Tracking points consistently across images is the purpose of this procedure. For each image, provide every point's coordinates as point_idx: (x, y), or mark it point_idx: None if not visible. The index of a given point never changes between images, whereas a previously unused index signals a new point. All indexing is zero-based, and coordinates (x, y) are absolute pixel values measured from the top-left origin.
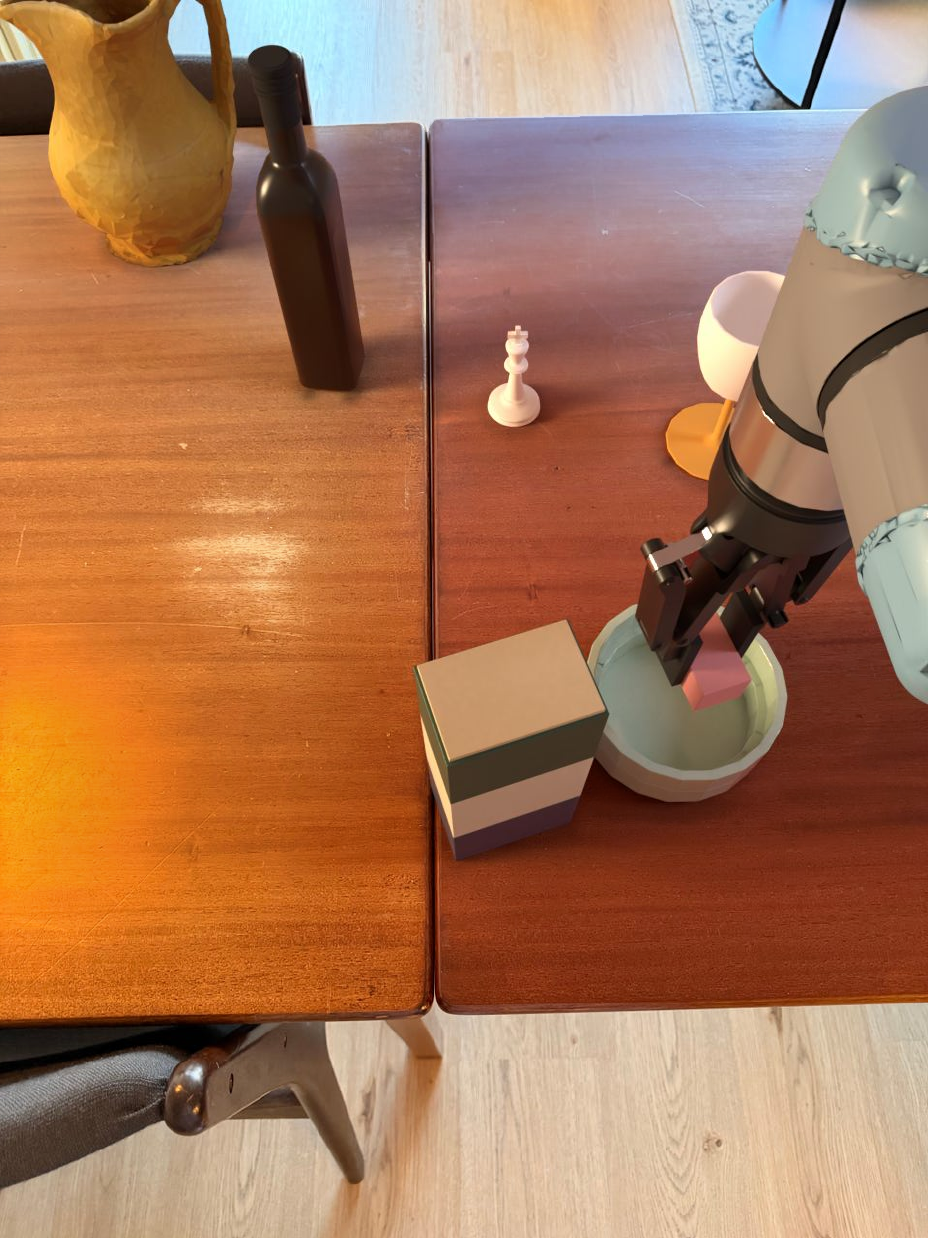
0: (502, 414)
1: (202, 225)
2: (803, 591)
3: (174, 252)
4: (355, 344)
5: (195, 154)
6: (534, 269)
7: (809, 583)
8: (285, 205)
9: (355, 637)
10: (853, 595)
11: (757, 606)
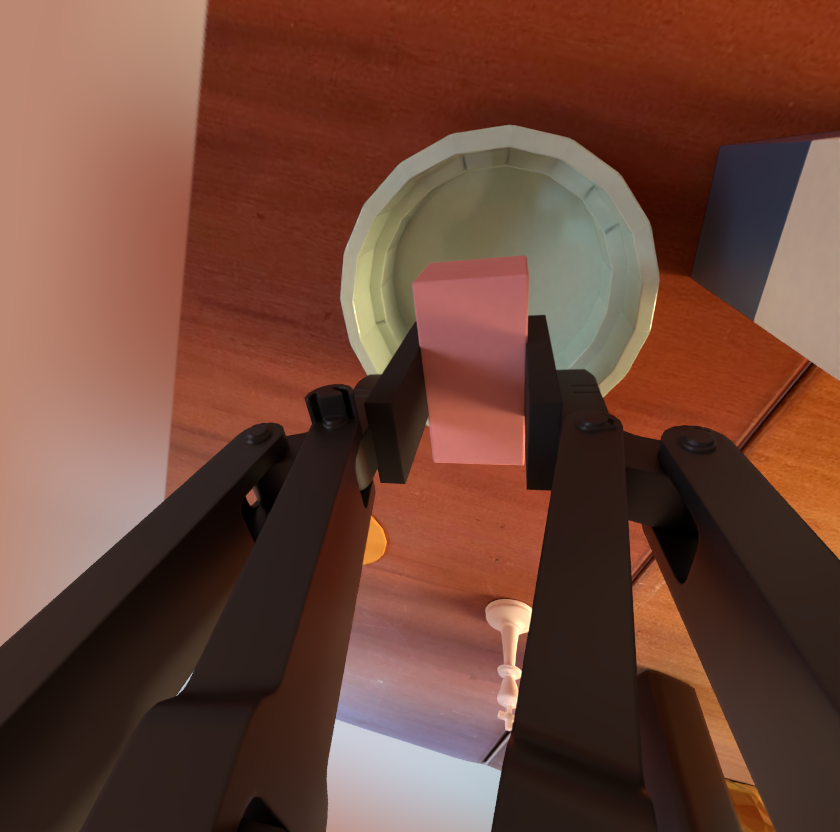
0: (527, 616)
1: None
2: (246, 473)
3: (732, 792)
4: (645, 722)
5: None
6: (443, 681)
7: (217, 503)
8: None
9: (830, 483)
10: (243, 362)
11: (368, 444)
